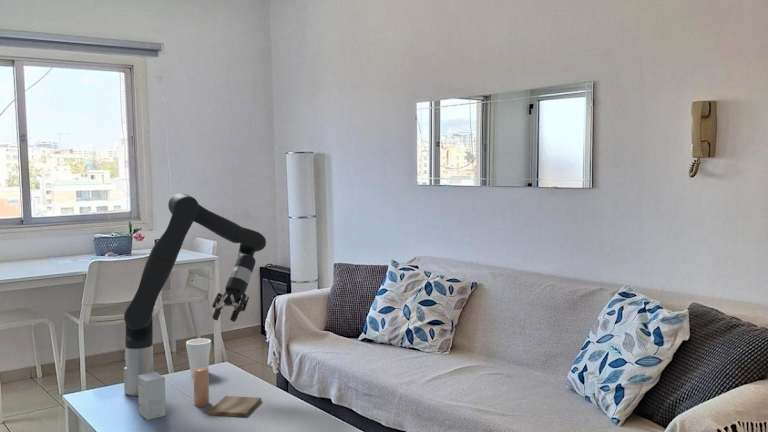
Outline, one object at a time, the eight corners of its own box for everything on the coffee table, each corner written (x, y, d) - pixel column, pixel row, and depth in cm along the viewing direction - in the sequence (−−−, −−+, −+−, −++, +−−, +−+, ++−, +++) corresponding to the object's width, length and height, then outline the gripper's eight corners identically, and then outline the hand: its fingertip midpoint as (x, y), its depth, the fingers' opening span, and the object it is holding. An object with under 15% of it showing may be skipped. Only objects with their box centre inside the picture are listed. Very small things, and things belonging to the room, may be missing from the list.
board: (208, 414, 221) (208, 411, 221) (225, 399, 236) (225, 395, 236) (246, 416, 219) (246, 413, 219) (261, 401, 234) (261, 397, 234)
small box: (166, 415, 220) (165, 377, 219) (147, 420, 216) (146, 381, 215) (157, 409, 227) (156, 371, 226) (138, 413, 223) (137, 375, 222)
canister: (191, 405, 229) (191, 371, 229) (197, 400, 234) (197, 367, 233) (205, 406, 229) (204, 372, 228) (211, 401, 234) (210, 367, 233)
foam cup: (207, 377, 260) (206, 344, 260) (183, 377, 261) (183, 344, 260) (214, 370, 270) (213, 338, 269) (191, 369, 270) (190, 338, 269)
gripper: (218, 275, 253) (202, 315, 246) (247, 276, 246) (232, 316, 239) (230, 284, 259) (215, 323, 251) (259, 285, 252) (244, 325, 244)
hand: (223, 320), depth 245 cm, fingers open, 8 cm apart
